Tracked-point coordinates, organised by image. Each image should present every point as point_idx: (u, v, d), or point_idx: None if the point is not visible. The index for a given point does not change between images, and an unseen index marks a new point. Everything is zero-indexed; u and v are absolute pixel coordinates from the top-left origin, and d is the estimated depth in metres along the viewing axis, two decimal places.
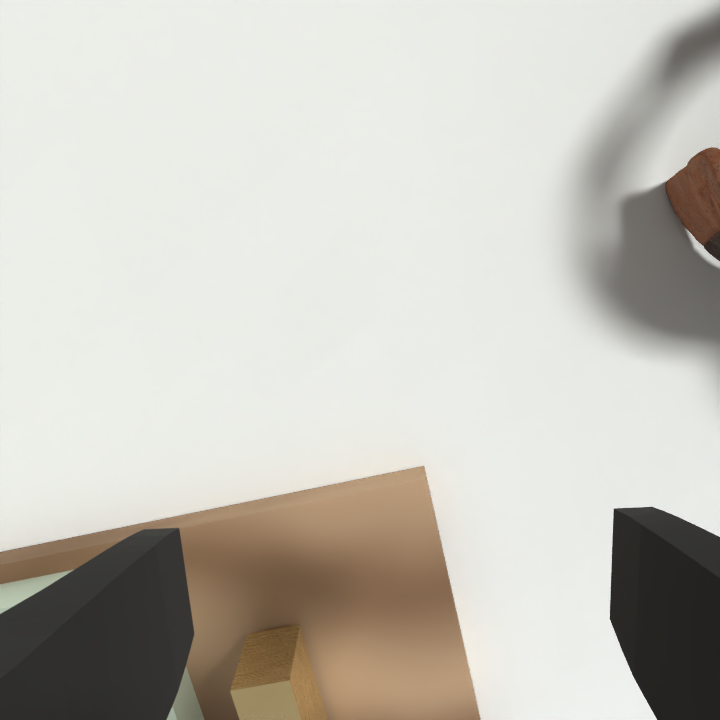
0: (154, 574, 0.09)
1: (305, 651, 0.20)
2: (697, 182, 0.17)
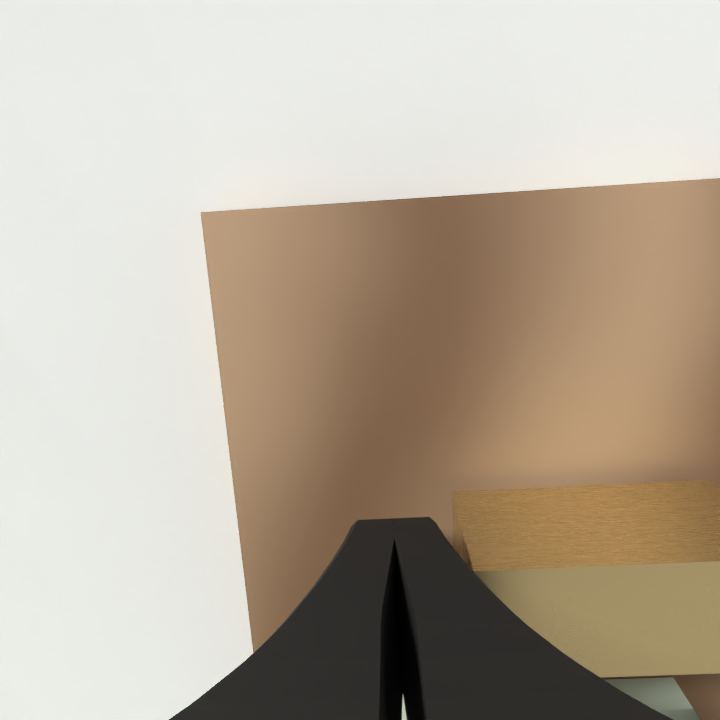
0: (395, 564, 0.09)
1: (501, 497, 0.11)
2: None
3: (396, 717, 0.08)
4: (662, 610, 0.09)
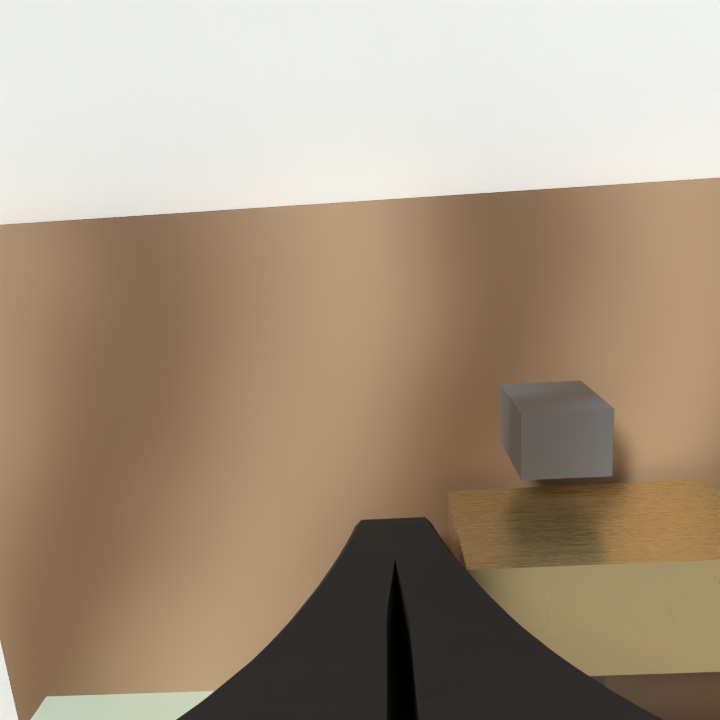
0: None
1: (496, 497, 0.11)
2: None
3: (401, 717, 0.08)
4: (655, 609, 0.09)
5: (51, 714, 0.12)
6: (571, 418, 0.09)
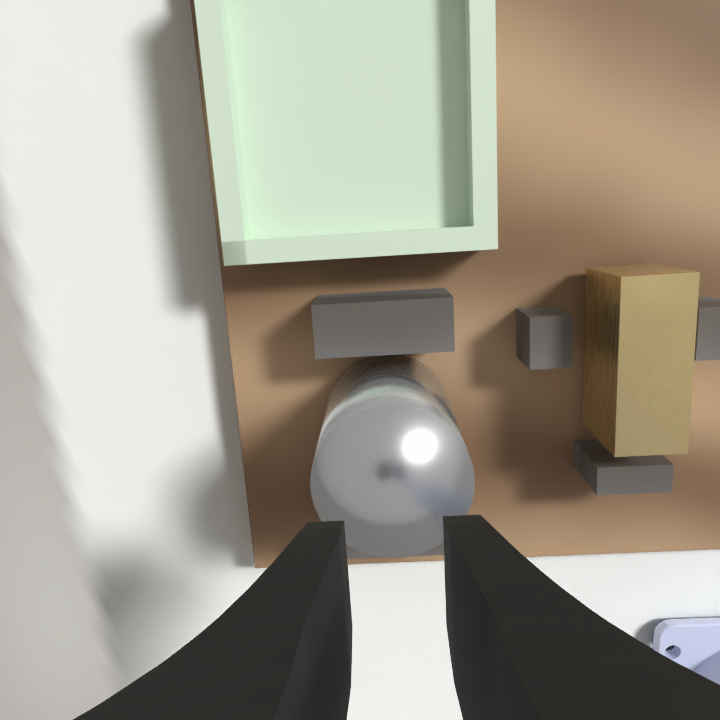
0: (339, 566, 0.09)
1: None
2: None
3: (335, 719, 0.08)
4: (661, 382, 0.15)
5: None
6: None
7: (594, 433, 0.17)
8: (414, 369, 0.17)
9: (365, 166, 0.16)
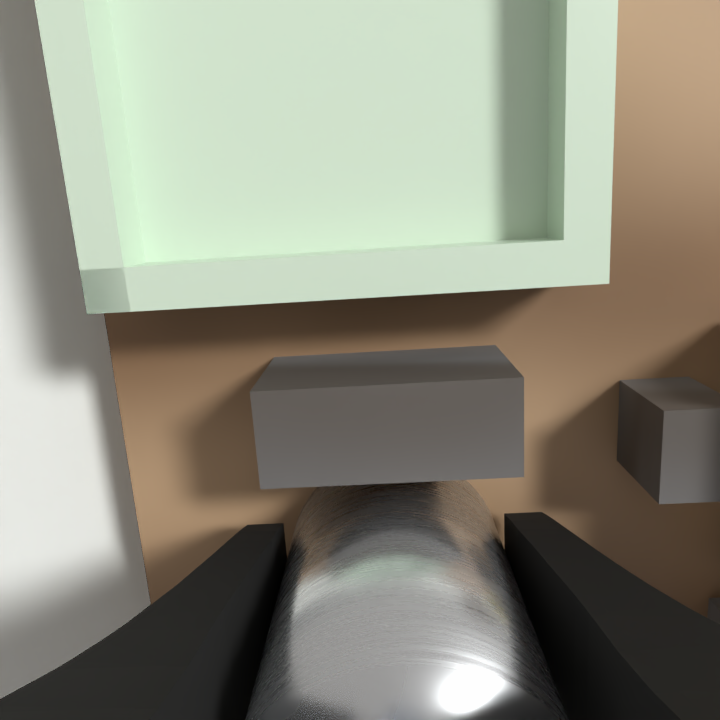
0: (271, 569, 0.09)
1: None
2: None
3: None
4: None
5: None
6: None
7: None
8: (444, 499, 0.09)
9: (354, 126, 0.08)
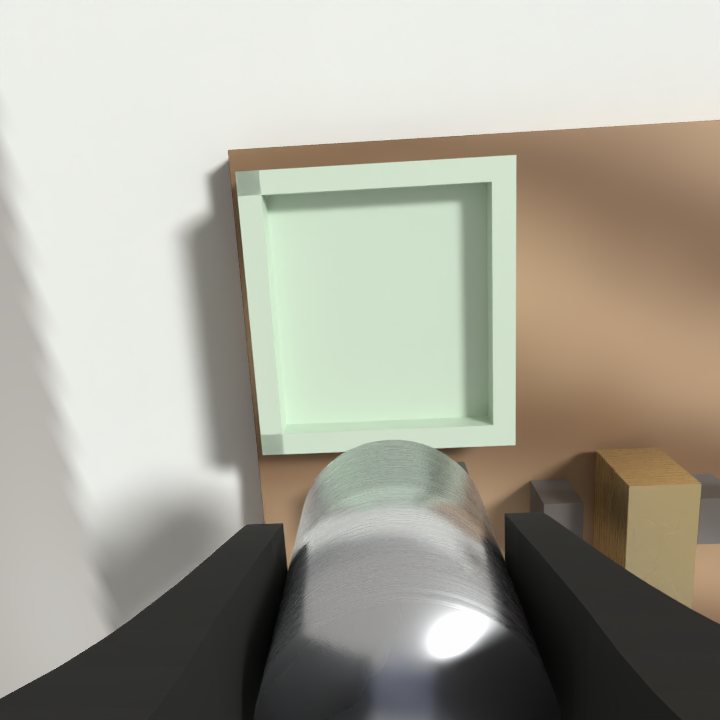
0: (270, 569, 0.09)
1: None
2: None
3: None
4: (665, 576, 0.16)
5: None
6: None
7: None
8: (435, 476, 0.10)
9: (393, 363, 0.17)
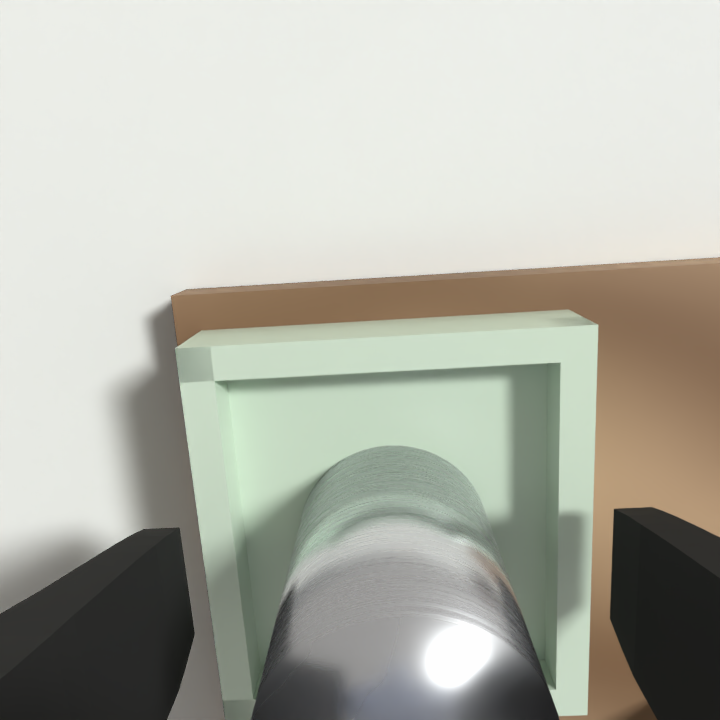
0: (154, 574, 0.09)
1: None
2: None
3: None
4: None
5: None
6: None
7: None
8: (436, 483, 0.10)
9: None
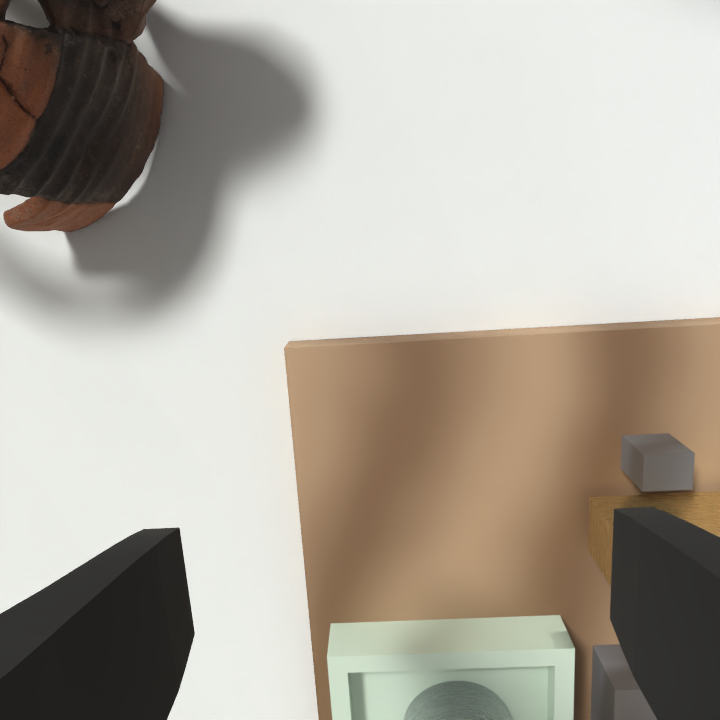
0: (154, 574, 0.09)
1: (620, 500, 0.19)
2: (38, 227, 0.17)
3: None
4: None
5: (340, 632, 0.20)
6: (670, 458, 0.17)
7: None
8: None
9: None
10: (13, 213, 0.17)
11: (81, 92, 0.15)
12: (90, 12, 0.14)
